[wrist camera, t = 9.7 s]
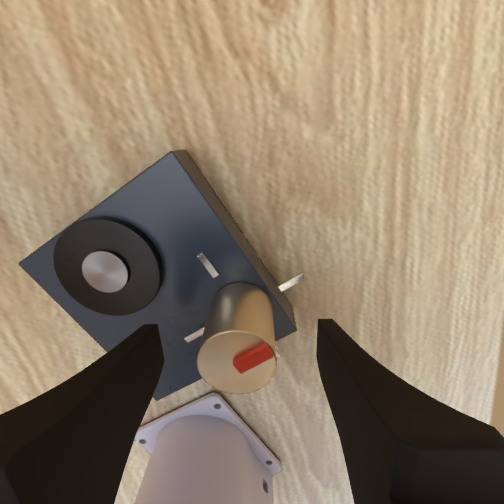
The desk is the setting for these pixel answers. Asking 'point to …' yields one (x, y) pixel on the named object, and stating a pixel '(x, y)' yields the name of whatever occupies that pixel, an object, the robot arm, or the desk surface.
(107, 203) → the hot plate
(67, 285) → the burner
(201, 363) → the knob
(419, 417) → the robot arm
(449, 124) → the desk surface
